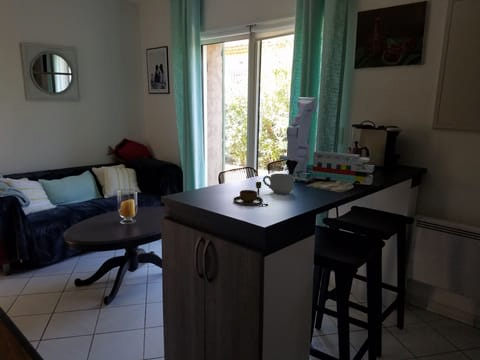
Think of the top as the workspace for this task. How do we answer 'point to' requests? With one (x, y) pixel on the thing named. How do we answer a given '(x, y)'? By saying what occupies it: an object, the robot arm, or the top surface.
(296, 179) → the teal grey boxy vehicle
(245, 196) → the place setting
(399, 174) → the top surface
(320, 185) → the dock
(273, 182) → the teacup
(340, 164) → the toy vehicle
